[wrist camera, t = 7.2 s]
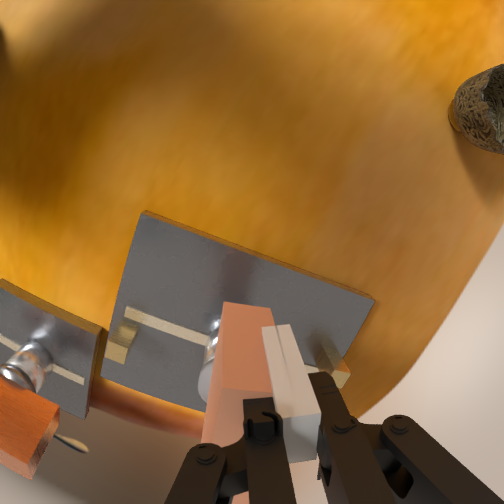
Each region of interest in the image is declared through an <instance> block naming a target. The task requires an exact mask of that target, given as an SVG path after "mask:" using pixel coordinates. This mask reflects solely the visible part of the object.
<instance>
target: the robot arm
mask: <svg viewBox="0 0 504 504" xmlns="http://www.w3.org/2000/svg"><path fill="white" fill-rule="evenodd" d="M262 338H263V343H264V349H265V354H266V359H267V365H268V370H269V376H270V381H271V386H272V392H273V397H265V398H254V399H243V413H244V421H243V429H244V434H243V436H242V437H241V438H240V440H238V441H237V442H235V443H234V444H231V445H228V446H225V447H222V448H221V447H220V446H219V445H216V444H213V443H202V444H198V445H196V446H194V447H192V448H191V449H190V450H189V452H188V453H187V455H186V457H185V460H184V462H183V464H182V466H181V468H180V471H179V473H178V475H177V477H176V479H175V481H174V484H173V486H172V488H171V490H170V492H169V494H168V497H167V499H166V501H165V503H164V504H232V500H233V497H234V496H235V495H238V494H241V493H244V492H247V491H248V492H249V504H297V503H296V498H295V493H294V488H293V483H292V478H291V473H290V468H289V463H296V462H302V461H308V460H314V459H316V456H317V453H318V456H319V460H320V461H319V468H318V475H317V480H320V478H321V479H322V482H323V486H324V489H325V493H326V497H327V500H328V504H504V501H503V500H502V499H501V498H499V497H498V496H497V495H496V494H495V493H494V492H493V491H492V490H490V489H489V488H488V487H487V486H486V485H485V484H484V483H483V482H481V481H480V480H479V479H478V478H477V477H476V476H475V475H474V474H473V473H471V472H470V471H469V470H468V469H467V468H466V467H465V466H463V465H462V464H461V463H460V462H459V461H458V460H457V459H456V458H455V457H454V456H452V455H451V454H450V453H449V452H448V451H447V450H446V449H445V448H444V447H442V446H441V445H440V444H439V443H438V442H437V441H436V440H435V439H434V438H432V437H431V436H430V435H429V434H428V433H427V432H426V431H425V430H424V429H423V428H422V427H420V426H419V425H418V424H417V423H416V422H415V421H414V420H413V419H411V418H410V417H408V416H404V415H393V416H390V417H388V418H387V419H385V420H384V422H383V424H382V425H380V424H379V425H378V424H376V425H375V424H363V423H360V422H359V421H358V420H357V419H356V418H355V417H353V416H351V415H350V414H349V412H348V409H347V407H346V405H345V403H344V401H343V398H342V396H341V394H340V392H339V390H338V387H337V386H336V383H335V381H334V379H333V377H332V376H331V375H330V374H328V373H327V372H326V371H322V372H315V373H307V371H306V368H305V365H304V363H303V360H302V357H301V354H300V351H299V349H298V346H297V343H296V340H295V338H294V335H293V332H292V329H291V326H290V324H287V325H277V326H267V327H262Z"/></svg>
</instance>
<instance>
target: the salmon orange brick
mask: <svg viewBox="0 0 504 504" xmlns="http://www.w3.org/2000/svg"><path fill="white" fill-rule="evenodd" d="M267 326H275V323H274V319H273V316H272V312H271V309H270V308H265V307H258V306H251V305H244V304H237V303H230V302H224V303H223V309H222V315H221V321H220V327H219V333H218V339H217V345H216V351H215V357H214V358H213V359H211V360H210V361H208V362H207V363H206V364H205V365H204V366H203V367H202V369H201V371H200V374H199V381H198V391H199V394H200V396H201V398H202V399H203V400H204V401H205V402H206V403H207V407H206V413H205V420H204V426H203V433H202V439H201V444H202V443H213V444H216V445H219V446H220V447H221V448H222V447H225V446H228V445H231V444H234V443H235V442H237V441H238V440H240V438H241V437H242V436H243V434H244V429H243V421H244V413H243V399H254V398H265V397H273V392H272V386H271V381H270V376H269V370H268V365H267V359H266V354H265V349H264V343H263V338H262V327H267ZM232 504H249V492H248V491H247V492H244V493H241V494H238V495H235V496H234V497H233V500H232Z"/></svg>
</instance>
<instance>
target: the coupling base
mask: <svg viewBox="0 0 504 504" xmlns="http://www.w3.org/2000/svg"><path fill="white" fill-rule="evenodd" d="M224 302H230V303H237V304H244V305H251V306H258V307H265V308H270V309H271V312H272V316H273V319H274V323H275V326H277V325H287V324H290V326H291V329H292V332H293V335H294V338H295V340H296V343H297V346H298V349H299V351H300V354H301V357H302V360H303V363H304V365H305V368H306V371H307V373H315V372H322V371H326V372H327V373H328V374H330V375H331V376H332V377H333V379H334V381H335V383H336V386H337V387H338V388H340V389H342V387H343V386H344V384H345V383H346V381H347V379H348V378H349V376H350V375H351V373H350V371H349V369H348V367H347V366H346V364H345V362H344V360H343V357H344V355H345V354H346V352H347V350H348V349H349V347H350V345H351V344H352V342H353V340H354V338H355V337H356V335H357V333H358V331H359V329H360V328H361V326H362V324H363V322H364V320H365V319H366V317H367V315H368V313H369V311H370V309H371V307H372V306H373V304H374V302H375V301H374V300H373V299H372V298H371V297H370V296H369V295H368V294H366V293H363V292H361V291H358V290H356V289H353V288H350V287H348V286H345V285H342V284H340V283H337V282H334V281H332V280H329V279H327V278H324V277H321V276H319V275H316V274H313V273H311V272H308V271H305V270H303V269H300V268H298V267H295V266H292V265H290V264H287V263H284V262H282V261H279V260H276V259H274V258H271V257H268V256H266V255H263V254H261V253H258V252H255V251H253V250H250V249H247V248H245V247H242V246H239V245H237V244H234V243H231V242H229V241H226V240H224V239H221V238H218V237H216V236H213V235H210V234H208V233H205V232H202V231H200V230H197V229H194V228H192V227H189V226H186V225H184V224H181V223H179V222H176V221H173V220H171V219H168V218H165V217H163V216H160V215H157V214H155V213H152V212H149V211H147V210H146V211H144V212H142V213H141V215H140V218H139V221H138V224H137V227H136V231H135V234H134V237H133V240H132V244H131V247H130V250H129V254H128V257H127V261H126V265H125V268H124V272H123V276H122V279H121V283H120V287H119V291H118V295H117V299H116V303H115V307H114V311H113V315H112V320H111V324H110V329H109V333H108V338H107V343H106V348H105V353H104V358H103V363H102V369H101V374H100V376H101V377H103V378H106V379H108V380H111V381H113V382H116V383H118V384H121V385H123V386H126V387H128V388H131V389H134V390H137V391H139V392H142V393H145V394H148V395H151V396H153V397H156V398H159V399H162V400H165V401H168V402H172V403H175V404H178V405H181V406H184V407H188V408H191V409H195V410H198V411H202V412H205V413H206V407H207V403H206V402H205V401H204V400H203V399H202V398H201V396H200V394H199V391H198V381H199V374H200V371H201V369H202V367H203V366H204V365H205V364H206V363H207V362H208V361H210V360H211V359H213V358H214V357H215V351H216V345H217V339H218V333H219V327H220V321H221V315H222V309H223V303H224Z"/></svg>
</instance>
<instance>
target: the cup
mask: <svg viewBox="0 0 504 504" xmlns="http://www.w3.org/2000/svg"><path fill="white" fill-rule="evenodd" d="M448 116H449V120H450V123H451V124H452V126H453V127H454V129H455V130H457V131H458V132H459V133H461V134H463V136H464V137H465V138H466V139H467V140H468V141H469V142H470V143H472V144H473V145H475V146H477V147H479V148H481V149H484V150H487V151H490V152H494V153H499V154H503V155H504V64H501V65H498V66H495V67H493V68H490V69H488V70H486V71H484V72H481V73H479V74H477V75H475V76H473V77H471V78H469V79H468V80H466V81H465V82H464V83H463V84H461V86H460V87H459V88H458V90H457V91H456V94H455V97H454V99H453V100H452V101H451V103H450V105H449V108H448Z"/></svg>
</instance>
